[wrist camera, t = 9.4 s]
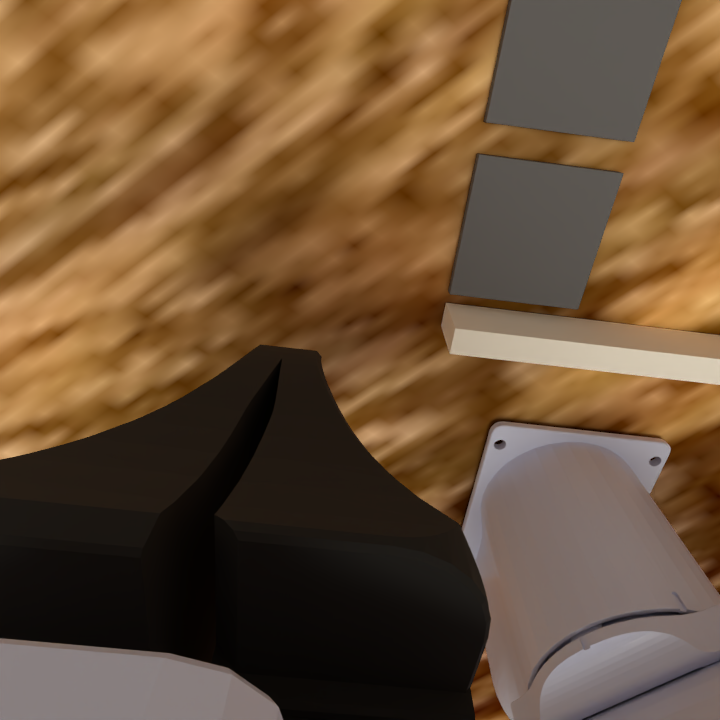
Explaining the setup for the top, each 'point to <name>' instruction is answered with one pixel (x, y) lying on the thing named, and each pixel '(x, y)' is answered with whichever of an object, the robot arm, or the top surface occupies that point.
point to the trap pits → (560, 114)
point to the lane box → (581, 343)
